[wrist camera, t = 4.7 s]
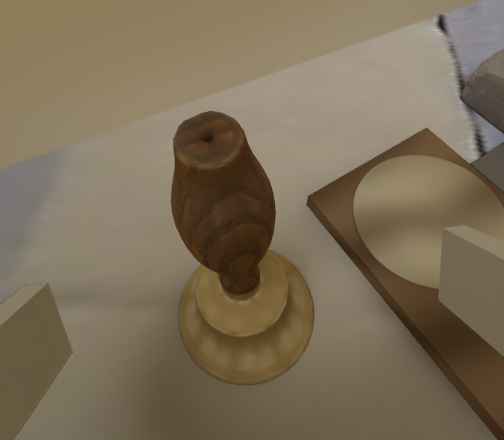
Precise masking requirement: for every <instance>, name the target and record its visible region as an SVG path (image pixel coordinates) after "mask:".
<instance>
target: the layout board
mask: <svg viewBox="0 0 504 440" xmlns="http://www.w3.org/2000/svg"><path fill="white" fill-rule="evenodd" d="M307 206H308V207H309V208H310V209H311V211H312V212H313V213H314V214H315V216H316V217H317V218H318V219H319V221H320V222H321V223H322V224H323V225H324V227H325V228H326V229H327V230H328V232H329V233H330V234H331V235H332V236H333V238H334V239H335V240H336V241H337V243H338V244H339V245H340V246H341V248H342V249H343V250H344V251H345V252H346V254H347V255H348V256H349V257H350V259H351V260H352V261H353V262H354V263H355V265H356V266H357V267H358V268H359V270H360V271H361V272H362V273H363V275H364V276H365V277H366V278H367V279H368V281H369V282H370V283H371V284H372V286H373V287H374V288H375V289H376V290H377V292H378V293H379V294H380V295H381V297H382V298H383V299H384V300H385V302H386V303H387V304H388V305H389V306H390V308H391V309H392V310H393V311H394V313H395V314H396V315H397V316H398V317H399V319H400V320H401V321H402V322H403V324H404V325H405V326H406V327H407V329H408V330H409V331H410V332H411V333H412V335H413V336H414V337H415V338H416V340H417V341H418V342H419V343H420V344H421V346H422V347H423V348H424V349H425V351H426V352H427V353H428V354H429V356H430V357H431V358H432V359H433V360H434V362H435V363H436V364H437V365H438V367H439V368H440V369H441V370H442V371H443V373H444V374H445V375H446V376H447V378H448V379H449V380H450V381H451V382H452V384H453V385H454V386H455V387H456V389H457V390H458V391H459V392H460V394H461V395H462V396H463V397H464V398H465V400H466V401H467V402H468V403H469V405H470V406H471V407H472V408H473V409H474V411H475V412H476V413H477V414H478V416H479V417H480V418H481V419H482V421H483V422H484V423H485V424H486V425H487V427H488V428H489V429H490V430H491V432H492V433H493V434H494V435H495V436H496V438H497V439H498V440H504V356H502V355H501V354H500V353H499V352H498V351H497V350H495V349H494V348H493V347H492V346H491V345H490V344H489V343H487V342H486V341H485V340H484V339H483V338H482V337H481V336H479V335H478V334H477V333H476V332H475V331H474V330H473V329H471V328H470V327H469V326H468V325H467V324H466V323H465V322H463V321H462V320H461V319H460V318H459V317H458V316H456V315H455V314H454V313H453V312H452V311H451V310H450V309H448V308H447V307H446V306H445V305H444V304H443V303H442V302H440V301H439V300H438V295H439V280H440V265H441V250H442V235H443V228H447V227H454V226H462V225H466V226H469V227H471V228H473V229H475V230H477V231H480V232H482V233H484V234H486V235H488V236H490V237H493V238H495V239H497V240H499V241H501V242H504V193H503V192H502V191H501V190H500V189H498V188H497V187H496V186H495V185H494V184H492V183H491V182H490V181H489V180H488V179H487V178H485V177H484V176H483V175H482V174H481V173H480V172H478V171H477V170H476V169H475V168H474V167H473V166H471V165H470V164H469V163H468V162H467V161H465V160H464V159H463V158H462V157H461V156H460V155H458V154H457V153H456V152H455V151H454V150H453V149H451V148H450V147H449V146H448V145H447V144H446V143H444V142H443V141H442V140H441V139H440V138H438V137H437V136H436V135H435V134H434V133H433V132H431V131H430V130H429V129H428V128H425V129H424V130H422V131H420V132H418V133H417V134H415V135H413V136H411V137H410V138H408V139H406V140H404V141H403V142H401V143H399V144H398V145H396V146H394V147H392V148H391V149H389V150H387V151H385V152H384V153H382V154H380V155H378V156H377V157H375V158H373V159H372V160H370V161H368V162H366V163H365V164H363V165H361V166H359V167H358V168H356V169H354V170H352V171H351V172H349V173H347V174H346V175H344V176H342V177H340V178H339V179H337V180H335V181H333V182H332V183H330V184H328V185H326V186H325V187H323V188H321V189H320V190H318V191H316V192H314V193H313V194H311V195H309V196H308V200H307Z"/></svg>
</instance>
